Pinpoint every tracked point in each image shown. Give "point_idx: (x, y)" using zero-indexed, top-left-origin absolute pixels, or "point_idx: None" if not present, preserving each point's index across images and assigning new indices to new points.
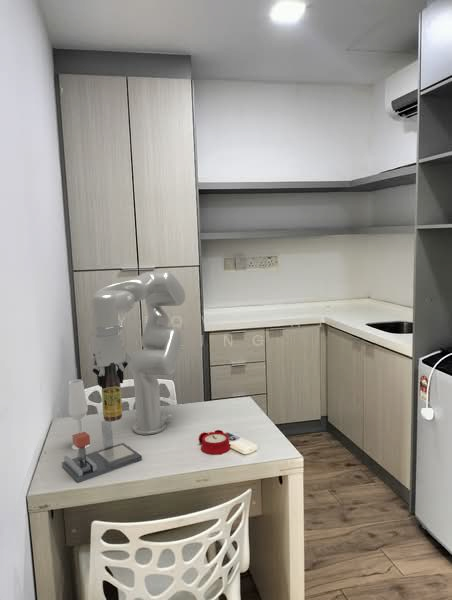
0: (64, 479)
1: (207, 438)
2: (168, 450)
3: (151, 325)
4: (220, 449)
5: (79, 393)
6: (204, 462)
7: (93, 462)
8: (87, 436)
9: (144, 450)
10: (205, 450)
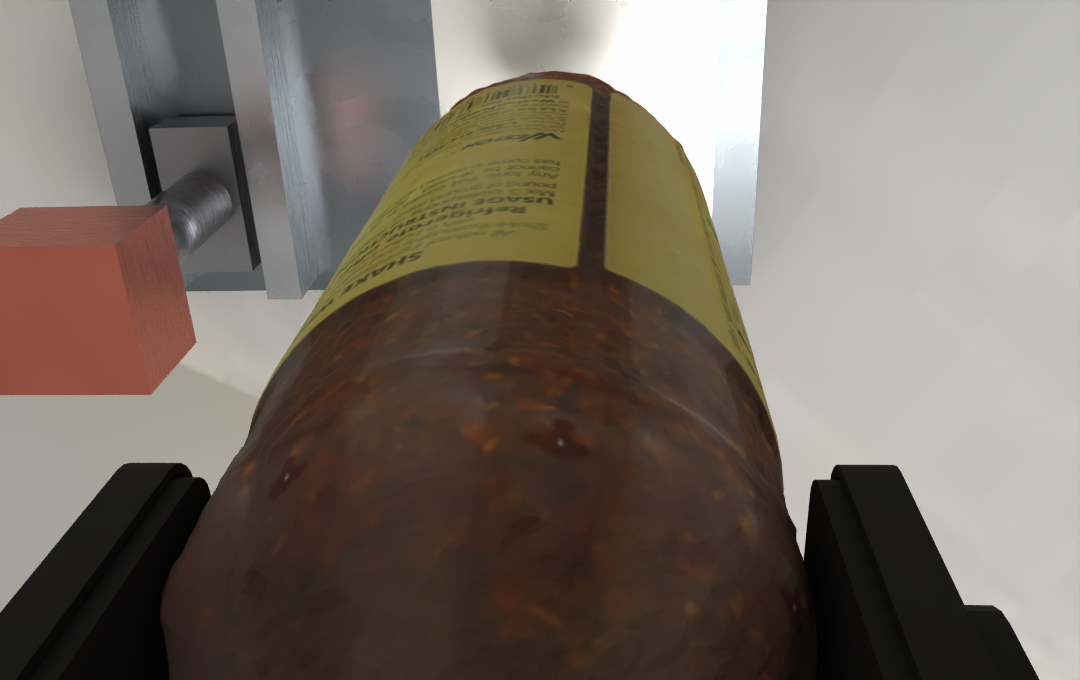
0: (74, 148)
1: None
2: (1038, 260)
3: None
4: None
5: None
6: (1068, 606)
7: (289, 242)
8: (128, 390)
9: (879, 100)
10: None
